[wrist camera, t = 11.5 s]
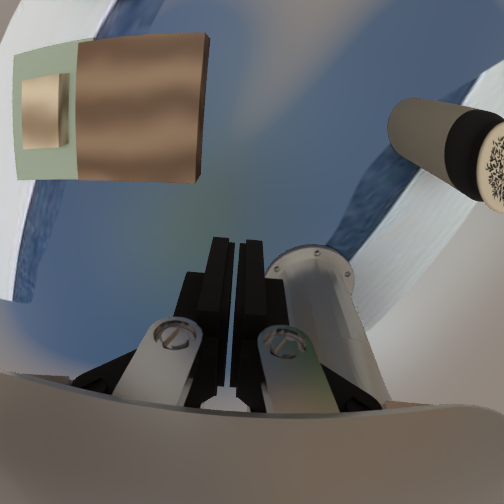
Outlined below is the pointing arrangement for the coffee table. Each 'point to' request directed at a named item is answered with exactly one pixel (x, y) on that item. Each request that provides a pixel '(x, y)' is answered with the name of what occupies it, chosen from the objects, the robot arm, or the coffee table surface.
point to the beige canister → (453, 146)
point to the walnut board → (141, 107)
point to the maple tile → (45, 111)
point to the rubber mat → (65, 158)
